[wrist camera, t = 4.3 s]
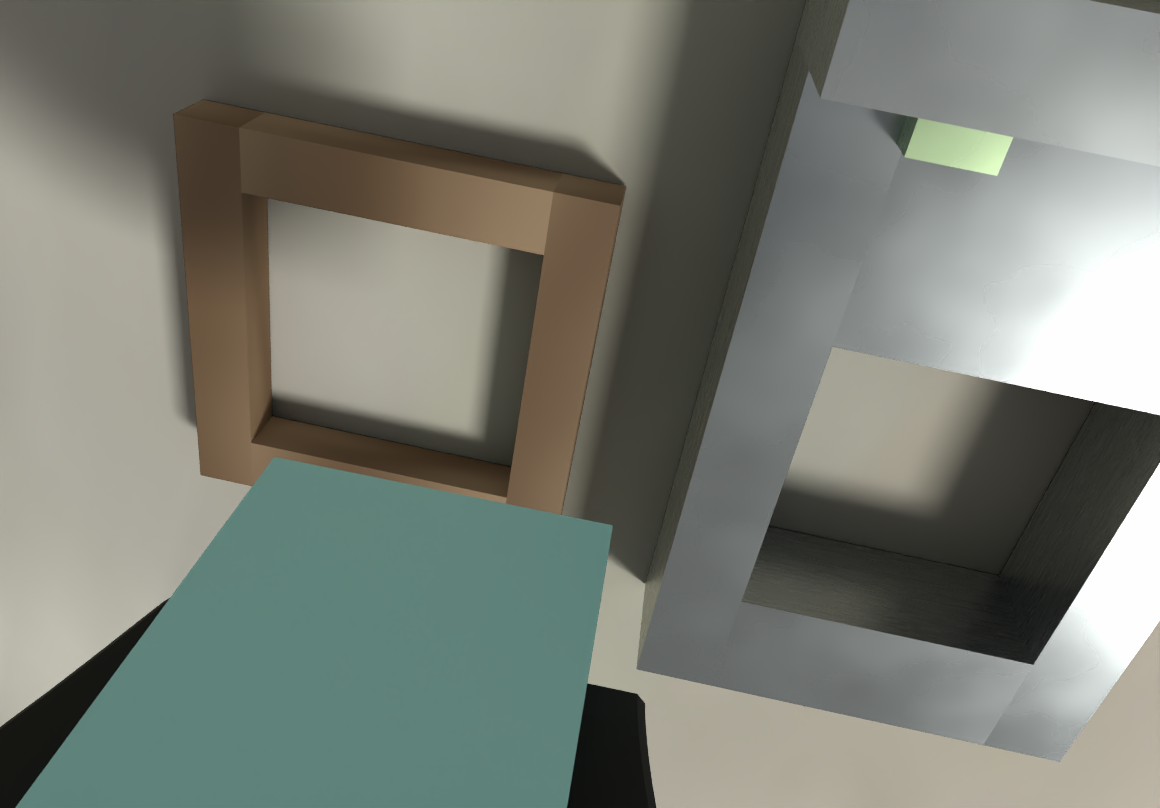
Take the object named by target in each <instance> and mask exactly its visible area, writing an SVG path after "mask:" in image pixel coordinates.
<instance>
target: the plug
mask: <svg viewBox="0 0 1160 808" xmlns="http://www.w3.org/2000/svg"><path fill="white" fill-rule="evenodd" d="M612 528H613V525H609V524H604V523H599V522H594V521H589V520H584V519H579V518H574V517H569V516H564V515H559V514H554V513H549V512H544V511H540V510H535V509H530V508H525V507H520V506H515V505H510V504H505V503H500V502H495V501H490V500H485V499H480V498H475V497H470V496H465V495H461V494H456V493H451V492H446V491H441V490H436V489H431V488H426V487H421V486H416V485H411V484H406V483H401V482H396V481H391V480H386V479H382V478H377V477H372V476H367V475H362V474H357V473H352V472H347V471H342V470H337V469H332V468H327V467H322V466H317V465H312V464H307V463H302V462H298V461H293V460H288V459H283V458H278V457H274V458H273V459H272V461H271V462H270V463H269V465H268V466H267V467H266V469H265V470H264V471H263V473H262V474H261V475H260V477H259V478H258V480H257V481H256V482H255V484H254V485H253V486H252V488H251V489H250V490H249V492H248V493H247V494H246V496H245V497H244V499H243V500H242V501H241V503H240V504H239V505H238V507H237V508H236V509H235V511H234V512H233V513H232V515H231V516H230V518H229V519H228V520H227V522H226V523H225V524H224V526H223V527H222V528H221V530H220V531H219V532H218V534H217V535H216V536H215V538H214V539H213V541H212V542H211V543H210V545H209V546H208V547H207V549H206V550H205V551H204V553H203V554H202V555H201V557H200V558H199V560H198V561H197V562H196V564H195V565H194V566H193V568H192V569H191V570H190V572H189V573H188V574H187V576H186V577H185V578H184V580H183V581H182V583H181V584H180V585H179V587H178V588H177V589H176V591H175V592H174V593H173V595H172V596H171V597H170V599H169V600H168V602H167V603H166V604H165V606H164V607H163V608H162V610H161V611H160V612H159V614H158V615H157V616H156V618H155V619H154V621H153V622H152V623H151V625H150V626H149V627H148V629H147V630H146V631H145V633H144V634H143V635H142V637H141V638H140V639H139V641H138V642H137V644H136V645H135V646H134V648H133V649H132V650H131V652H130V653H129V654H128V656H127V657H126V658H125V660H124V661H123V663H122V664H121V665H120V667H119V668H118V669H117V671H116V672H115V673H114V675H113V676H112V677H111V679H110V680H109V681H108V683H107V684H106V686H105V687H104V688H103V690H102V691H101V692H100V694H99V695H98V696H97V698H96V699H95V700H94V702H93V703H92V705H91V706H90V707H89V709H88V710H87V711H86V713H85V714H84V715H83V717H82V718H81V719H80V721H79V722H78V724H77V725H76V726H75V728H74V729H73V730H72V732H71V733H70V734H69V736H68V737H67V738H66V740H65V741H64V742H63V744H62V745H61V747H60V748H59V749H58V751H57V752H56V753H55V755H54V756H53V757H52V759H51V760H50V761H49V763H48V764H47V766H46V767H45V768H44V770H43V771H42V772H41V774H40V775H39V776H38V778H37V779H36V780H35V782H34V783H33V784H32V786H31V787H30V789H29V790H28V791H27V793H26V794H25V795H24V797H23V798H22V799H21V801H20V802H19V803H18V805H17V806H16V808H567V804H568V798H569V792H570V786H571V780H572V774H573V767H574V761H575V755H576V749H577V743H578V737H579V731H580V725H581V718H582V712H583V706H584V700H585V694H586V688H587V682H588V675H589V669H590V663H591V657H592V651H593V645H594V639H595V633H596V626H597V620H598V614H599V608H600V602H601V596H602V590H603V584H604V577H605V571H606V565H607V559H608V553H609V547H610V541H611V534H612Z"/></svg>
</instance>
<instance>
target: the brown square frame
mask: <svg viewBox="0 0 1160 808" xmlns="http://www.w3.org/2000/svg"><path fill="white" fill-rule="evenodd" d="M173 117H174V130H175V143H176V157H177V170H178V183H179V196H180V209H181V222H182V236H183V249H184V262H185V275H186V288H187V301H188V315H189V328H190V341H191V354H192V367H193V380H194V394H195V407H196V420H197V433H198V446H199V459H200V473H201V475H203V476H207V477H212V478H217V479H221V480H226V481H231V482H235V483H240V484H244V485H249V486H253V485H254V484H255V482H256V481H257V480H258V478H259V477H260V475H261V474H262V473H263V471H264V470H265V469H266V467H267V466H268V465H269V463H270V462H271V461H272V459H273V458H274V457H278V458H283V459H288V460H293V461H298V462H302V463H307V464H312V465H317V466H322V467H327V468H332V469H337V470H342V471H347V472H352V473H357V474H362V475H367V476H372V477H377V478H382V479H386V480H391V481H396V482H401V483H406V484H411V485H416V486H421V487H426V488H431V489H436V490H441V491H446V492H451V493H456V494H461V495H465V496H470V497H475V498H480V499H485V500H490V501H495V502H500V503H505V504H510V505H515V506H520V507H525V508H530V509H535V510H540V511H544V512H549V513H554V514H559V515H562V510H563V505H564V500H565V495H566V490H567V485H568V480H569V475H570V470H571V465H572V460H573V454H574V449H575V444H576V439H577V434H578V429H579V424H580V419H581V414H582V409H583V404H584V399H585V393H586V388H587V383H588V378H589V373H590V368H591V363H592V358H593V353H594V348H595V343H596V337H597V332H598V327H599V322H600V317H601V312H602V307H603V302H604V297H605V292H606V287H607V282H608V276H609V271H610V266H611V261H612V256H613V251H614V246H615V241H616V236H617V231H618V226H619V221H620V215H621V210H622V205H623V200H624V195H625V190H626V186H622V185H617V184H612V183H607V182H603V181H598V180H593V179H588V178H583V177H578V176H573V175H568V174H564V173H559V172H554V171H549V170H544V169H539V168H534V167H529V166H524V165H520V164H515V163H510V162H505V161H500V160H495V159H490V158H485V157H480V156H476V155H471V154H466V153H461V152H456V151H451V150H446V149H441V148H436V147H432V146H427V145H422V144H417V143H412V142H407V141H402V140H397V139H393V138H388V137H383V136H378V135H373V134H368V133H363V132H358V131H353V130H349V129H344V128H339V127H334V126H329V125H324V124H319V123H314V122H309V121H305V120H300V119H295V118H290V117H285V116H280V115H275V114H270V113H265V112H261V111H256V110H251V109H246V108H241V107H236V106H231V105H226V104H221V103H217V102H212V101H207V100H201V101H199V102H197V103H195V104H193V105H191V106H189V107H187V108H185V109H183V110H181V111H179V112H177V113H174V114H173ZM267 198H270V199H275V200H280V201H285V202H289V203H294V204H299V205H304V206H309V207H314V208H318V209H323V210H328V211H333V212H338V213H343V214H347V215H352V216H357V217H362V218H367V219H371V220H376V221H381V222H386V223H391V224H396V225H400V226H405V227H410V228H415V229H420V230H425V231H429V232H434V233H439V234H444V235H449V236H454V237H458V238H463V239H468V240H473V241H478V242H482V243H487V244H492V245H497V246H502V247H507V248H511V249H516V250H521V251H526V252H531V253H536V254H540V255H544V257H543V264H542V270H541V277H540V283H539V290H538V296H537V303H536V309H535V316H534V322H533V329H532V336H531V342H530V349H529V355H528V362H527V368H526V375H525V381H524V388H523V394H522V401H521V408H520V414H519V421H518V427H517V434H516V440H515V447H514V453H513V460H512V466H511V467H507V466H502V465H498V464H493V463H488V462H484V461H479V460H474V459H470V458H465V457H460V456H456V455H451V454H446V453H442V452H437V451H432V450H428V449H423V448H418V447H414V446H409V445H404V444H399V443H395V442H390V441H385V440H381V439H376V438H371V437H367V436H362V435H357V434H353V433H348V432H343V431H339V430H334V429H329V428H325V427H320V426H315V425H311V424H306V423H301V422H296V421H292V420H287V419H282V418H278V417H273V416H272V392H271V347H270V302H269V257H268V212H267Z"/></svg>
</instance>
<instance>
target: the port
mask: <svg viewBox="0 0 1160 808" xmlns="http://www.w3.org/2000/svg"><path fill="white" fill-rule="evenodd" d="M832 347H836V348H841V349H846V350H851V351H855V352H860V353H865V354H870V355H875V356H879V357H884V358H889V359H894V360H899V361H903V362H908V363H913V364H918V365H923V366H927V367H932V368H937V369H942V370H947V371H951V372H956V373H961V374H966V375H971V376H975V377H980V378H985V379H990V380H995V381H999V382H1004V383H1009V384H1014V385H1019V386H1024V387H1028V388H1033V389H1038V390H1043V391H1048V392H1052V393H1057V394H1062V395H1067V396H1072V397H1076V398H1081V399H1086V400H1091V401H1096V403H1095V404H1094V406H1093V408H1092V410H1091V412H1090V413H1089V415H1088V417H1087V419H1086V421H1085V422H1084V424H1083V426H1082V428H1081V430H1080V431H1079V433H1078V435H1077V437H1076V439H1075V440H1074V442H1073V444H1072V446H1071V448H1070V449H1069V451H1068V453H1067V455H1066V457H1065V458H1064V460H1063V462H1062V464H1061V466H1060V467H1059V469H1058V471H1057V473H1056V475H1055V476H1054V478H1053V480H1052V482H1051V484H1050V485H1049V487H1048V489H1047V491H1046V493H1045V494H1044V496H1043V498H1042V500H1041V502H1040V503H1039V505H1038V507H1037V509H1036V511H1035V512H1034V514H1033V516H1032V518H1031V520H1030V521H1029V523H1028V525H1027V527H1026V529H1025V530H1024V532H1023V534H1022V536H1021V538H1020V539H1019V541H1018V543H1017V545H1016V547H1015V548H1014V550H1013V552H1012V554H1011V556H1010V557H1009V559H1008V561H1007V563H1006V565H1005V566H1004V568H1003V570H1002V572H1001V574H1000V575H994V574H989V573H984V572H980V571H975V570H970V569H966V568H961V567H956V566H952V565H947V564H942V563H938V562H933V561H928V560H924V559H919V558H914V557H910V556H905V555H900V554H896V553H891V552H886V551H882V550H877V549H872V548H868V547H863V546H858V545H853V544H849V543H844V542H839V541H835V540H830V539H825V538H821V537H816V536H811V535H807V534H802V533H797V532H793V531H788V530H783V529H779V528H774V527H769V526H768V525H769V523H770V520H771V517H772V514H773V511H774V509H775V506H776V503H777V500H778V497H779V495H780V492H781V489H782V486H783V483H784V481H785V478H786V475H787V472H788V469H789V467H790V464H791V461H792V458H793V455H794V453H795V450H796V447H797V444H798V441H799V439H800V436H801V433H802V430H803V427H804V425H805V422H806V419H807V416H808V413H809V411H810V408H811V405H812V402H813V399H814V397H815V394H816V391H817V388H818V385H819V383H820V380H821V377H822V374H823V371H824V369H825V366H826V363H827V360H828V357H829V355H830V352H831V349H832ZM1159 621H1160V0H806V3H805V7H804V11H803V14H802V18H801V21H800V25H799V29H798V32H797V36H796V40H795V43H794V47H793V51H792V54H791V58H790V61H789V65H788V69H787V72H786V76H785V80H784V83H783V87H782V91H781V94H780V98H779V101H778V105H777V109H776V112H775V116H774V120H773V123H772V127H771V130H770V134H769V138H768V141H767V145H766V149H765V152H764V156H763V160H762V163H761V167H760V170H759V174H758V178H757V181H756V185H755V189H754V192H753V196H752V200H751V203H750V207H749V210H748V214H747V218H746V221H745V225H744V229H743V232H742V236H741V240H740V243H739V247H738V250H737V254H736V258H735V261H734V265H733V269H732V272H731V276H730V279H729V283H728V287H727V290H726V294H725V298H724V301H723V305H722V309H721V312H720V316H719V319H718V323H717V327H716V330H715V334H714V338H713V341H712V345H711V349H710V352H709V356H708V359H707V363H706V367H705V370H704V374H703V378H702V381H701V385H700V389H699V392H698V396H697V399H696V403H695V407H694V410H693V414H692V418H691V421H690V425H689V429H688V432H687V436H686V439H685V443H684V447H683V450H682V454H681V458H680V461H679V465H678V468H677V472H676V476H675V479H674V483H673V487H672V490H671V494H670V498H669V501H668V505H667V508H666V512H665V516H664V519H663V523H662V527H661V530H660V534H659V538H658V541H657V545H656V548H655V552H654V556H653V559H652V563H651V567H650V570H649V574H648V578H647V581H646V585H645V593H644V602H643V612H642V622H641V631H640V641H639V651H638V660H637V669H638V670H643V671H647V672H652V673H656V674H661V675H665V676H670V677H675V678H679V679H684V680H688V681H693V682H697V683H702V684H707V685H711V686H716V687H720V688H725V689H729V690H734V691H739V692H743V693H748V694H752V695H757V696H761V697H766V698H771V699H775V700H780V701H784V702H789V703H793V704H798V705H803V706H807V707H812V708H816V709H821V710H825V711H830V712H835V713H839V714H844V715H848V716H853V717H857V718H862V719H867V720H871V721H876V722H880V723H885V724H889V725H894V726H899V727H903V728H908V729H912V730H917V731H921V732H926V733H931V734H935V735H940V736H944V737H949V738H953V739H958V740H963V741H967V742H972V743H976V744H981V745H985V746H990V747H995V748H999V749H1004V750H1008V751H1013V752H1017V753H1022V754H1027V755H1031V756H1036V757H1040V758H1045V759H1049V760H1054V761H1059V762H1060V760H1061V759H1062V757H1063V756H1064V755H1065V753H1066V752H1067V750H1068V749H1069V748H1070V746H1071V745H1072V743H1073V742H1074V741H1075V739H1076V738H1077V736H1078V735H1079V733H1080V732H1081V731H1082V729H1083V728H1084V726H1085V725H1086V724H1087V722H1088V721H1089V719H1090V718H1091V717H1092V715H1093V714H1094V712H1095V711H1096V710H1097V708H1098V707H1099V705H1100V704H1101V702H1102V701H1103V700H1104V698H1105V697H1106V695H1107V694H1108V693H1109V691H1110V690H1111V688H1112V687H1113V686H1114V684H1115V683H1116V681H1117V680H1118V678H1119V677H1120V676H1121V674H1122V673H1123V671H1124V670H1125V669H1126V667H1127V666H1128V664H1129V663H1130V662H1131V660H1132V659H1133V657H1134V656H1135V655H1136V653H1137V652H1138V650H1139V649H1140V647H1141V646H1142V645H1143V643H1144V642H1145V640H1146V639H1147V638H1148V636H1149V635H1150V633H1151V632H1152V631H1153V629H1154V628H1155V626H1156V625H1157V623H1158V622H1159Z"/></svg>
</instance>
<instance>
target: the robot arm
mask: <svg viewBox="0 0 1160 808" xmlns="http://www.w3.org/2000/svg"><path fill="white" fill-rule="evenodd" d="M169 599H170V598H169ZM169 599H167V600H166V601H164V602H163V603H161V604H160V605H159V606H157V607H156V608H155V609H154V610H152V611H151V612H150V613H148V614H147V615H146V616H145V617H143V618H142V619H141V620H139V621H138V622H137V623H136V624H134V625H133V626H132V627H131V628H129V629H128V630H127V631H125V632H124V633H123V634H122V635H120V636H119V637H118V638H117V639H115V640H114V641H113V642H111V643H110V644H109V645H108V646H106V647H105V648H104V649H103V650H101V651H100V652H99V653H97V654H96V655H95V656H94V657H92V658H91V659H90V660H88V661H87V662H86V663H85V664H83V665H82V666H81V667H79V668H78V669H77V670H75V671H74V672H73V673H72V674H70V675H69V676H68V677H66V678H65V679H64V680H62V681H61V682H60V683H59V684H57V685H56V686H55V687H53V688H52V689H51V690H49V691H48V692H47V693H45V694H44V695H43V696H41V697H40V698H39V699H37V700H36V701H35V702H33V703H32V704H31V705H29V706H28V707H27V708H25V709H24V710H22V711H21V712H20V713H18V714H17V715H16V716H14V717H13V718H12V719H10V720H9V721H8V722H6V723H5V724H4V725H2V726H1V727H0V808H16V806H17V805H18V803H19V802H20V801H21V799H22V798H23V797H24V795H25V794H26V793H27V791H28V790H29V789H30V787H31V786H32V784H33V783H34V782H35V780H36V779H37V778H38V776H39V775H40V774H41V772H42V771H43V770H44V768H45V767H46V766H47V764H48V763H49V761H50V760H51V759H52V757H53V756H54V755H55V753H56V752H57V751H58V749H59V748H60V747H61V745H62V744H63V742H64V741H65V740H66V738H67V737H68V736H69V734H70V733H71V732H72V730H73V729H74V728H75V726H76V725H77V724H78V722H79V721H80V719H81V718H82V717H83V715H84V714H85V713H86V711H87V710H88V709H89V707H90V706H91V705H92V703H93V702H94V700H95V699H96V698H97V696H98V695H99V694H100V692H101V691H102V690H103V688H104V687H105V686H106V684H107V683H108V681H109V680H110V679H111V677H112V676H113V675H114V673H115V672H116V671H117V669H118V668H119V667H120V665H121V664H122V663H123V661H124V660H125V658H126V657H127V656H128V654H129V653H130V652H131V650H132V649H133V648H134V646H135V645H136V644H137V642H138V641H139V639H140V638H141V637H142V635H143V634H144V633H145V631H146V630H147V629H148V627H149V626H150V625H151V623H152V622H153V621H154V619H155V618H156V616H157V615H158V614H159V612H160V611H161V610H162V608H163V607H164V606H165V604H166V603H167V602H168V600H169ZM567 808H656V803H655V797H654V791H653V786H652V779H651V772H650V764H649V756H648V747H647V736H646V724H645V703H644V702H643V700H642V699H641V698H640V697H639V696H638V694H635V693H630V692H625V691H621V690H616V689H611V688H606V687H602V686H597V685H592V684H587V688H586V694H585V700H584V706H583V712H582V718H581V725H580V731H579V737H578V743H577V749H576V755H575V761H574V767H573V774H572V780H571V786H570V792H569V798H568V804H567Z"/></svg>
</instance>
